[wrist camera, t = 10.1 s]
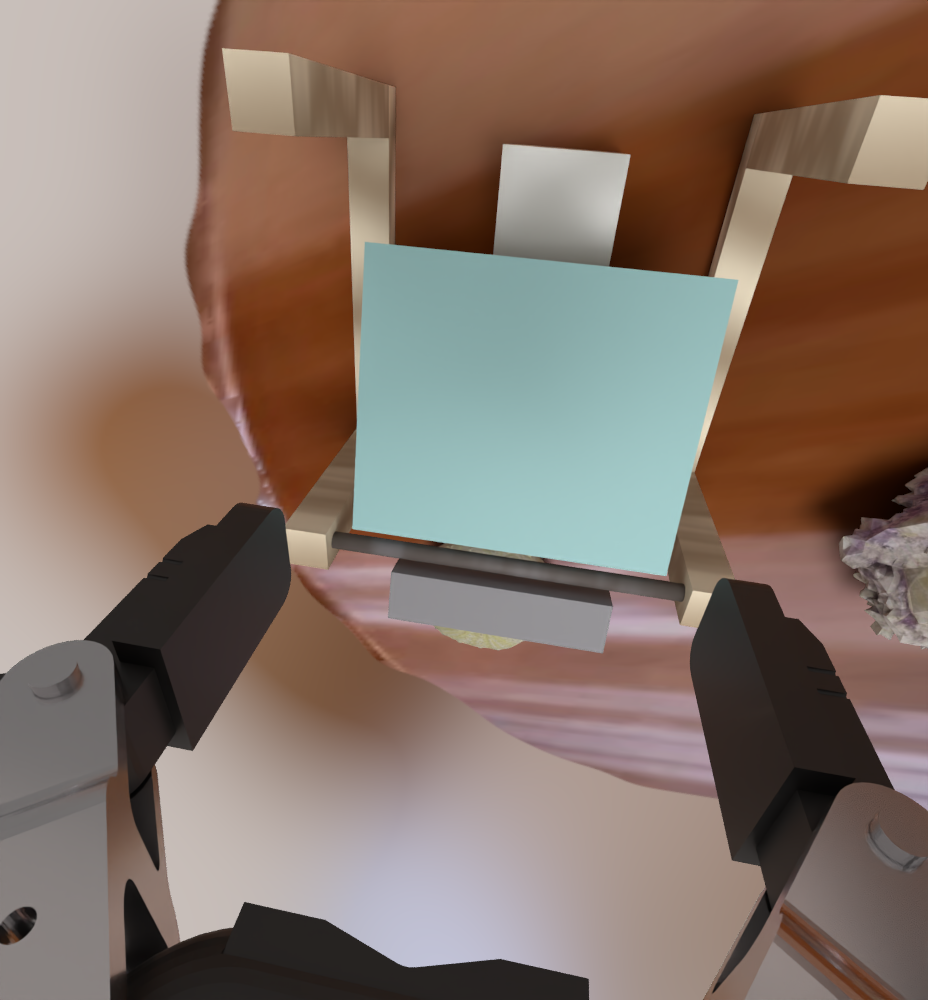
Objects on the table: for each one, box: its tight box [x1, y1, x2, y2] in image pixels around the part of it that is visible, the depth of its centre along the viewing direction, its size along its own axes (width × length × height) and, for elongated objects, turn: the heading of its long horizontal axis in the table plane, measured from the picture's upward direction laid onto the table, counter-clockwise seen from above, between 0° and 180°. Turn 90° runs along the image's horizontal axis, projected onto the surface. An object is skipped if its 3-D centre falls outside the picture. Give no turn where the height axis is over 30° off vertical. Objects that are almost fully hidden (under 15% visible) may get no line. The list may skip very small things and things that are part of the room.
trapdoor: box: [352, 242, 738, 653], centre depth 24 cm, size 16×14×2 cm
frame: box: [222, 48, 928, 628], centre depth 26 cm, size 19×20×12 cm
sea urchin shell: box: [433, 543, 545, 650], centre depth 39 cm, size 9×8×8 cm
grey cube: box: [493, 144, 630, 267], centre depth 26 cm, size 5×5×5 cm
